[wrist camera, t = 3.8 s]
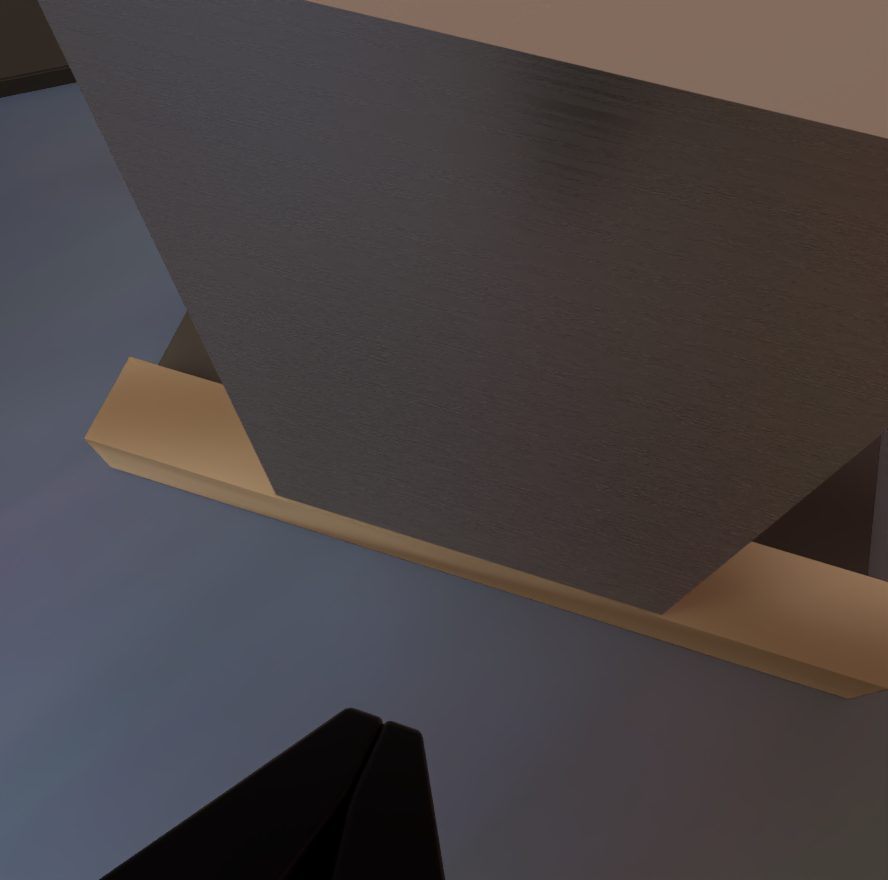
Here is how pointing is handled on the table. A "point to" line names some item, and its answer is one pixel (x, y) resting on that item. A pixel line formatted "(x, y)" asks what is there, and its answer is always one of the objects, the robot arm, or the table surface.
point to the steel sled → (521, 256)
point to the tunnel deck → (685, 624)
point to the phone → (29, 50)
